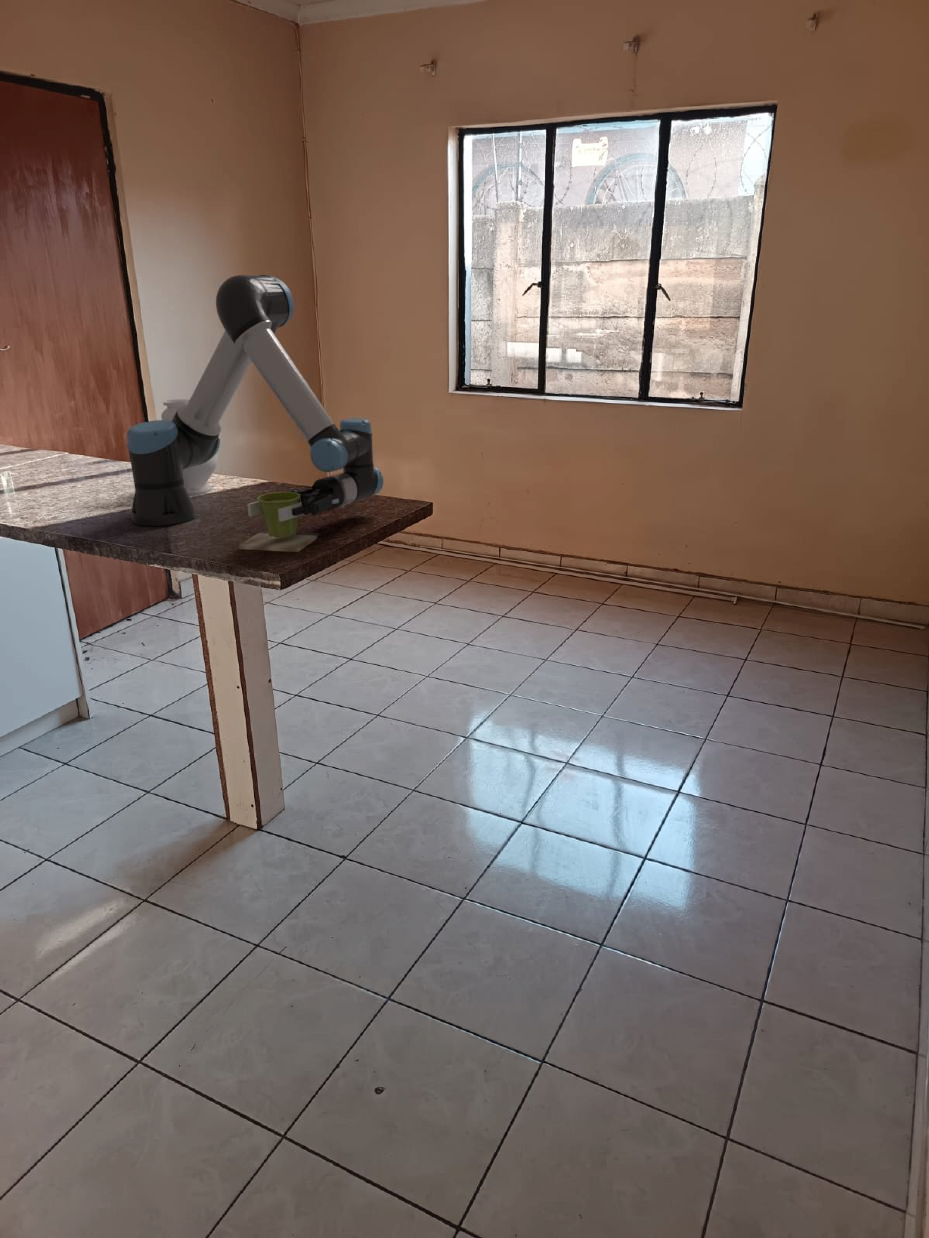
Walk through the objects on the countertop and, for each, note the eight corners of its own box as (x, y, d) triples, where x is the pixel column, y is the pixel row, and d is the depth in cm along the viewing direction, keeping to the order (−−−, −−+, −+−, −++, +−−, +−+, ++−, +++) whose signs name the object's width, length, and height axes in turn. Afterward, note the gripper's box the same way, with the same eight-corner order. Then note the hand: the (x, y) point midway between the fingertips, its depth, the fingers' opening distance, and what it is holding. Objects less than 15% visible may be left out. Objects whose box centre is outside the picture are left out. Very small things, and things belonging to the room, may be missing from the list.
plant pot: (262, 542, 188) (257, 503, 185) (259, 531, 196) (255, 493, 193) (305, 538, 190) (302, 499, 187) (301, 527, 199) (298, 490, 195)
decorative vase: (207, 481, 258) (197, 395, 249) (231, 491, 244) (220, 401, 235) (147, 490, 248) (134, 401, 239) (168, 501, 235) (155, 407, 225)
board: (238, 549, 191) (238, 545, 190) (262, 534, 202) (262, 530, 201) (298, 552, 188) (297, 548, 187) (318, 537, 199) (318, 533, 198)
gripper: (369, 512, 201) (302, 536, 183) (301, 502, 212) (231, 523, 194) (367, 480, 198) (299, 501, 181) (298, 472, 209) (227, 490, 191)
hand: (264, 512), depth 187 cm, fingers closed on plant pot, 8 cm apart
